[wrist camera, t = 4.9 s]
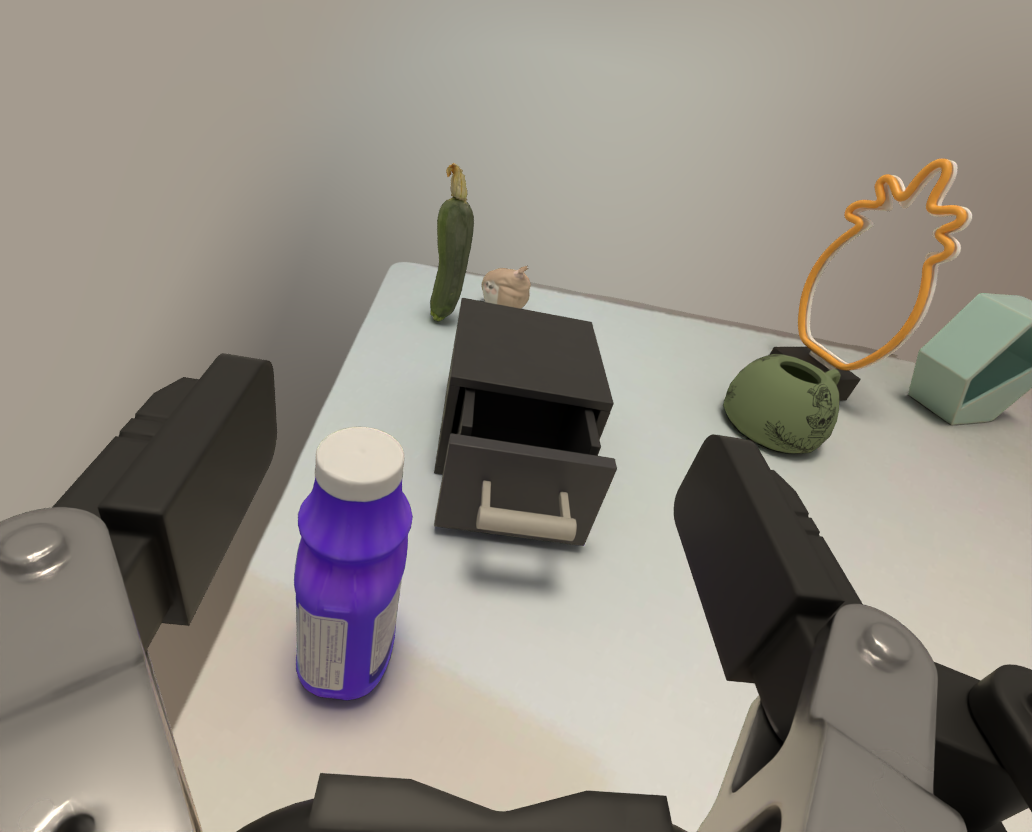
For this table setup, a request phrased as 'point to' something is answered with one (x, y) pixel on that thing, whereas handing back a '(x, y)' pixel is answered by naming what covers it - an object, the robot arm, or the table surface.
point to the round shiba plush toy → (506, 287)
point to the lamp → (952, 248)
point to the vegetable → (452, 246)
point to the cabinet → (523, 362)
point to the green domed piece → (784, 403)
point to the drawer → (523, 469)
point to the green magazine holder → (977, 361)
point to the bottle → (350, 563)
